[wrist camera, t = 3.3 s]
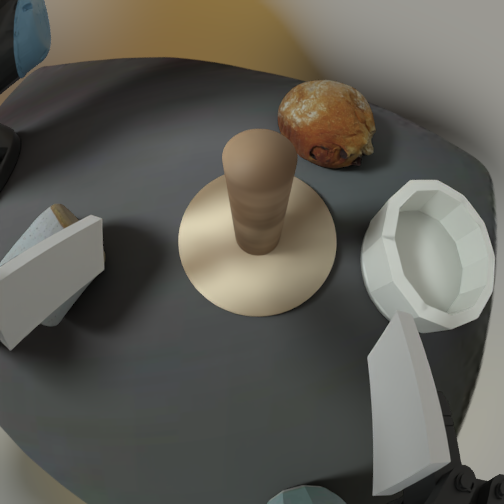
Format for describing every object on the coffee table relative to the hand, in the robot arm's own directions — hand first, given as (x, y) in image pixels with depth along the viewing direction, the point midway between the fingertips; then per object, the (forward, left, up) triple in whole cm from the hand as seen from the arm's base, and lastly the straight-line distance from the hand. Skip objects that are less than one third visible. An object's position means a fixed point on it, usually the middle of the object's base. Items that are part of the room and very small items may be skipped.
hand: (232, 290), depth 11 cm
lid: (-4, +5, -11) cm, 13 cm away
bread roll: (-9, +18, -11) cm, 23 cm away
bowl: (+7, +15, -11) cm, 19 cm away
